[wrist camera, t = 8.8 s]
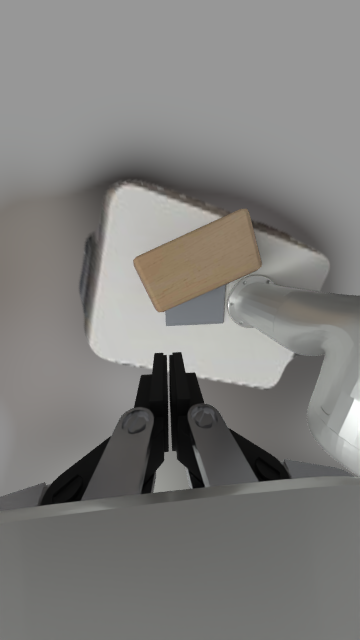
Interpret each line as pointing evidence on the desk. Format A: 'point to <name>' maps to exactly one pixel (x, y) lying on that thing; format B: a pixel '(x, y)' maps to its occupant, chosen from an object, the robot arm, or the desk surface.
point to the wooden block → (199, 261)
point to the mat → (199, 309)
